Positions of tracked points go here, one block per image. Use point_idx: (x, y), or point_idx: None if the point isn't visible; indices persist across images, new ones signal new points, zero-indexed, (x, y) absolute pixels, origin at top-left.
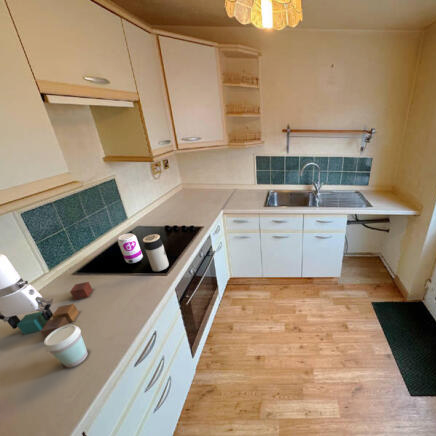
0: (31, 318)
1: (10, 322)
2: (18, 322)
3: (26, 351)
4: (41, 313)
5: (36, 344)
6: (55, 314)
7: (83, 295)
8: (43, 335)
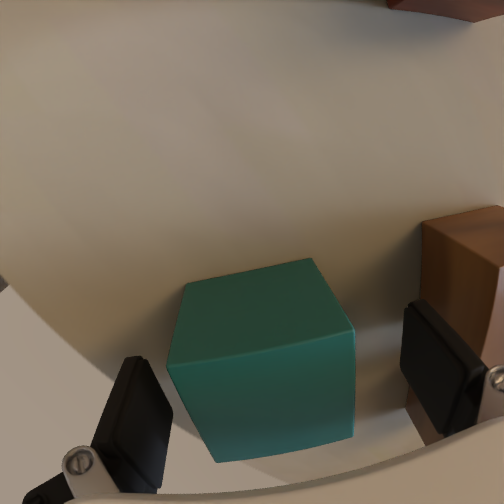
0: (301, 416)
1: (157, 479)
2: (152, 396)
3: (336, 450)
4: (352, 341)
5: (362, 425)
6: (492, 363)
7: (477, 12)
8: (424, 441)
